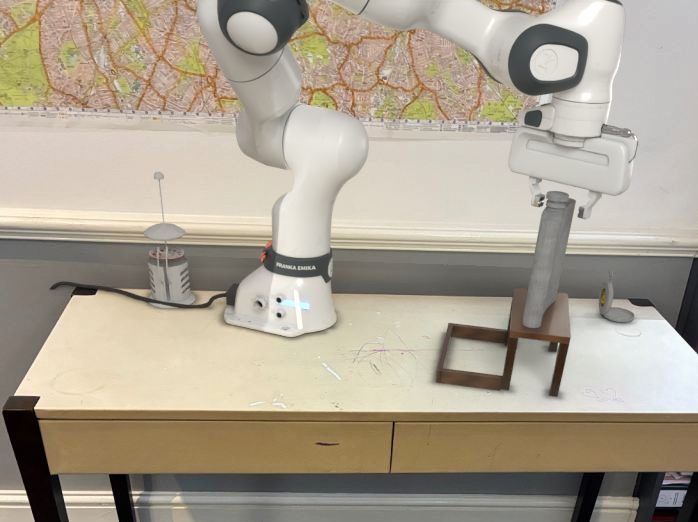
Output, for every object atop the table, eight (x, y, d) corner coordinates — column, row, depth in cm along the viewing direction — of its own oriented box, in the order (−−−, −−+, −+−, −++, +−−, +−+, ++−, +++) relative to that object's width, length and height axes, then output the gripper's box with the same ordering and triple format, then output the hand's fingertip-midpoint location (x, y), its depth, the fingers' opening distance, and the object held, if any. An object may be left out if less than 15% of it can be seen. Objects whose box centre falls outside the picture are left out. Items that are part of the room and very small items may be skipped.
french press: (198, 290, 167) (187, 166, 152) (192, 312, 158) (180, 182, 143) (151, 289, 166) (135, 164, 151) (142, 311, 157) (125, 180, 142)
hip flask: (538, 329, 132) (562, 207, 120) (515, 324, 133) (536, 203, 121) (557, 297, 144) (580, 183, 132) (535, 293, 145) (556, 180, 133)
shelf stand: (435, 382, 139) (442, 323, 132) (447, 334, 155) (453, 279, 149) (557, 398, 136) (570, 338, 130) (556, 347, 153) (567, 292, 146)
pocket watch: (640, 320, 166) (652, 274, 160) (613, 328, 162) (625, 281, 156) (610, 306, 171) (621, 261, 165) (584, 313, 167) (594, 267, 161)
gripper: (650, 128, 117) (627, 222, 125) (530, 106, 127) (516, 194, 135) (632, 134, 113) (609, 231, 121) (510, 110, 123) (497, 201, 131)
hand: (559, 211), depth 128 cm, fingers open, 7 cm apart
